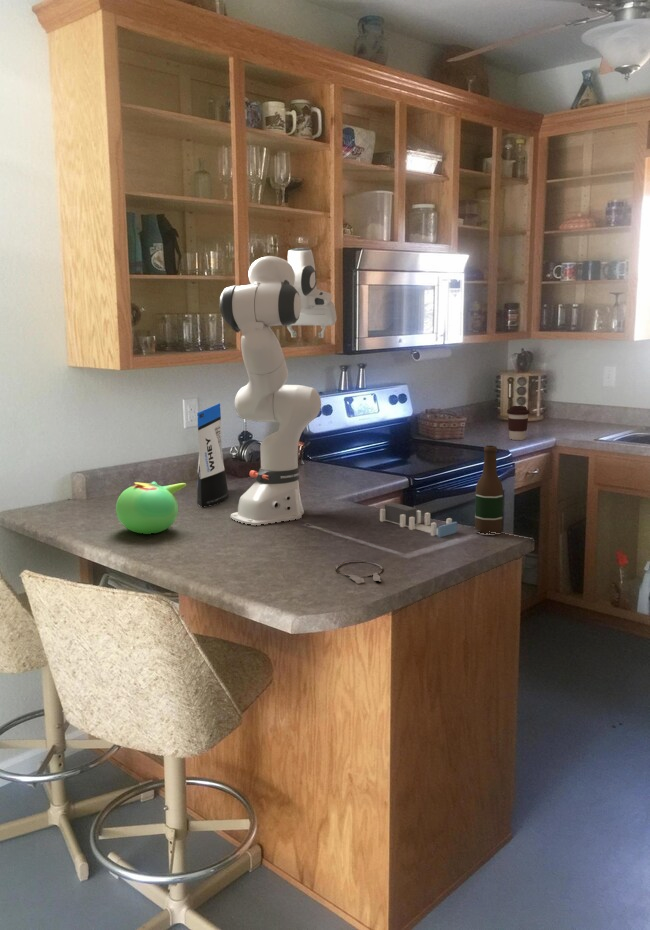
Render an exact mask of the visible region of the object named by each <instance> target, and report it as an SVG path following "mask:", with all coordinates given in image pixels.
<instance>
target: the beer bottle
mask: <svg viewBox="0 0 650 930" xmlns="http://www.w3.org/2000/svg"><path fill="white" fill-rule="evenodd" d="M497 447H498V446H497V445H485V446H484V447H483V451H484V458H483V469H482V474H481V476H480V477H479V478H478V480H477V483H476V486H475V502H474V505H475V509H474V511H475V514H474V525H475V526H474V529H475V530H476V531H477V530H478V531H477V532H480V533H484V534H486V533H488V534H489V533H490V534H495V533H491V532H496V533H501V534H502V532H503V507H504V506H503V505H504V504H503V503H504V487H503V484H502V481H501V479H500V477H499V476H498V469H497V466H498V465H497V452H498V448H497ZM489 531H490V532H489Z"/></svg>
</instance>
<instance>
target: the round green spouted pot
mask: <svg viewBox="0 0 650 930" xmlns="http://www.w3.org/2000/svg"><path fill="white" fill-rule="evenodd" d="M133 483H134V484H135V485H131V486H129V487H127V488H126V489H124V490H123V491H122V492H121V493H120V495H119V496H118V499H117V500H116V503H115V513H116V517H117V518H118V521H119V522H120V524H121V525H123V526H124V528H126V529H128V530H130V531H131V532H134V533H137V534H142V533H143V535H152V534H151V533H154V534H158V533H160V532H163V531H166V530H167V529H169V528H170V527H171V526H172V525H173V524H174V523H175V521H176V519H177V517H178V513H179V504H178V501H177V498H176V497H175V495H174V494H175V493H177V492H178V491H180V490H181V489H183V488H185V487H187V483H185V482H180V483H175V484H169V485H163V486H162V485H159V484H158V483H157V482H156V481H151V482H149V483H148V482H133Z"/></svg>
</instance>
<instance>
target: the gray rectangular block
mask: <svg viewBox="0 0 650 930" xmlns="http://www.w3.org/2000/svg"><path fill="white" fill-rule="evenodd" d="M384 509H385V520H388V521H392V522H395V523H399V524H400V515H402V514H404V515H406V526H409V517H415V524H416V511H417V508H416V507H413V506H408V505H405V504H401V503H397V502H389V503H387V504H384ZM388 521H387V522H388ZM392 522H391V523H392ZM395 523H394V524H395ZM399 524H398V525H399ZM406 526H405V527H406Z"/></svg>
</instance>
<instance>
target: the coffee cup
mask: <svg viewBox="0 0 650 930" xmlns="http://www.w3.org/2000/svg"><path fill="white" fill-rule="evenodd" d="M506 413H507V414H508V417H507V423H508V425H507V426H508V438H509V440H511V439H512V441H525V440H526V436H527V429H528V423H529V415H530V410H529V409H528V408H527V407H526V406H525V405H524V406H523V405H512V406H510V408H508V409H507V410H506ZM524 439H525V440H524Z"/></svg>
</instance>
